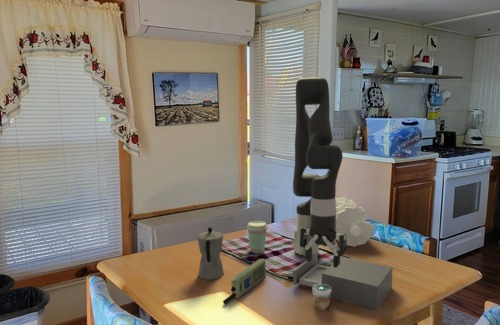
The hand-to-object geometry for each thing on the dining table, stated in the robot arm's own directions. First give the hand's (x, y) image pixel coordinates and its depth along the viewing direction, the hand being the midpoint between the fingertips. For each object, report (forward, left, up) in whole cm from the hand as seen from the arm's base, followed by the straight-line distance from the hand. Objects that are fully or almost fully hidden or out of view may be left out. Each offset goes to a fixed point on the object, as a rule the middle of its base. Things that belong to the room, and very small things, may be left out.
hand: (322, 263), depth 124 cm
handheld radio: (-27, -3, -14) cm, 30 cm away
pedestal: (0, 0, -14) cm, 14 cm away
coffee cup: (-42, +29, -14) cm, 53 cm away
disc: (0, 0, -10) cm, 10 cm away
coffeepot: (-43, -1, -14) cm, 45 cm away
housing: (+6, +15, -14) cm, 21 cm away
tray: (-5, +15, -12) cm, 20 cm away
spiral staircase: (-15, +62, -14) cm, 65 cm away
